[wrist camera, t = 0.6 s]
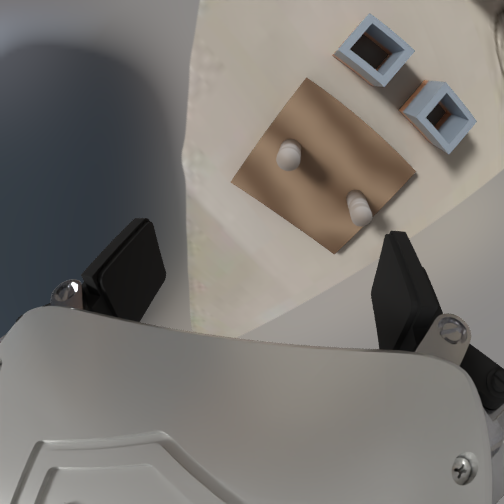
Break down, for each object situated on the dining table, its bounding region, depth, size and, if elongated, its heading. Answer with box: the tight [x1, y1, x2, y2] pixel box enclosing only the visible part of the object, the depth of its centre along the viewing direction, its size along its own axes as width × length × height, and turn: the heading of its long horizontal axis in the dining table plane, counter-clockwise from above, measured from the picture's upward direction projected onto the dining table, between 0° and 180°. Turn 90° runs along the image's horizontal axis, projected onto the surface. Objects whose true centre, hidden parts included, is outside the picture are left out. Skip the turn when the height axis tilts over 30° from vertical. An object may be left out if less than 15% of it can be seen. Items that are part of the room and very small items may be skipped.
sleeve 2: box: [399, 80, 477, 154], centre depth 23 cm, size 6×6×6 cm
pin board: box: [231, 78, 416, 254], centre depth 30 cm, size 16×17×6 cm
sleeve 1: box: [332, 13, 415, 87], centre depth 21 cm, size 6×6×6 cm
